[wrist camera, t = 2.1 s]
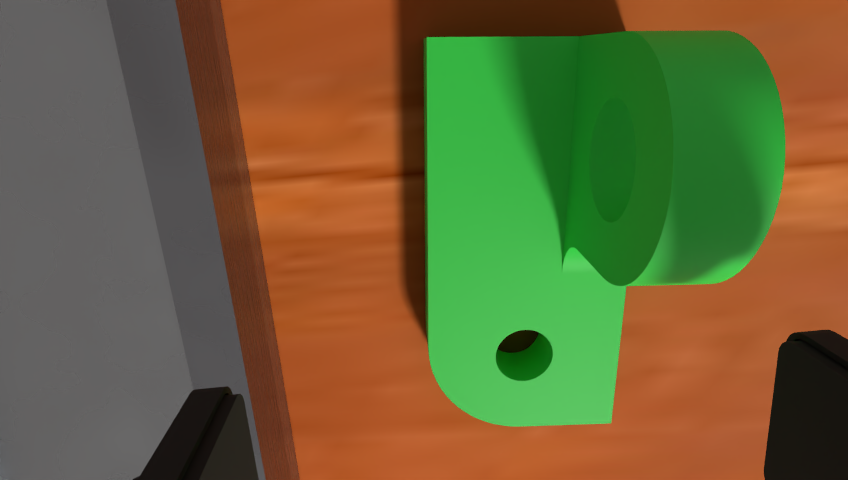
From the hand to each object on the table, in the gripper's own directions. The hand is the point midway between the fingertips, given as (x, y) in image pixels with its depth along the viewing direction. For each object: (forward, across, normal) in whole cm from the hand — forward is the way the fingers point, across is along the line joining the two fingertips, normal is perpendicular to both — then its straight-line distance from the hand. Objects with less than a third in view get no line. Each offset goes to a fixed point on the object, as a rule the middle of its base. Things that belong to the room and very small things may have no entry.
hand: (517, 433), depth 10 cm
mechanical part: (+10, -2, -1) cm, 10 cm away
